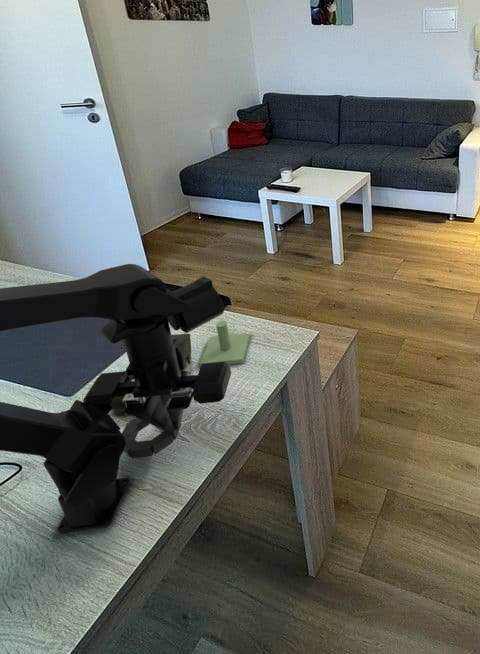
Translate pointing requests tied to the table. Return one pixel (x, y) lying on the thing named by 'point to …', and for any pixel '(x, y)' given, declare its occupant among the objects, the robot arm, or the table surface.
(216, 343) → the post
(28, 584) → the table surface
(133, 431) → the ring
